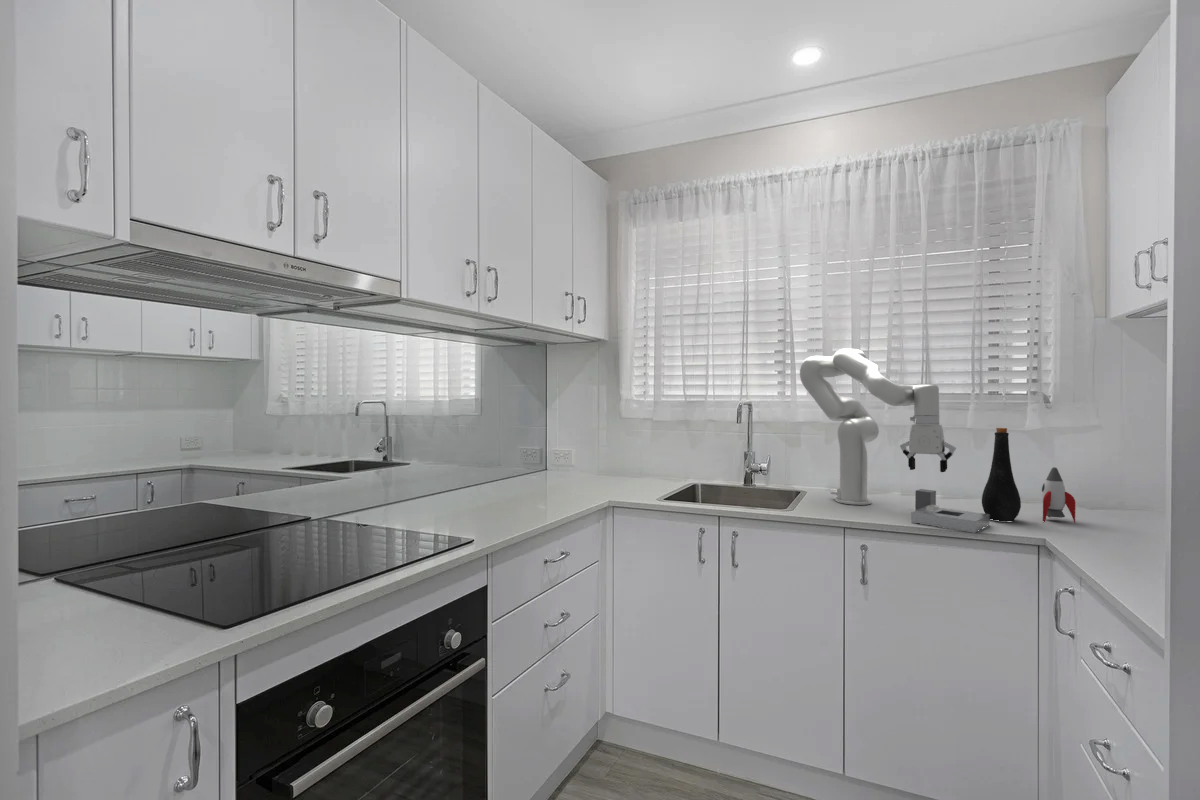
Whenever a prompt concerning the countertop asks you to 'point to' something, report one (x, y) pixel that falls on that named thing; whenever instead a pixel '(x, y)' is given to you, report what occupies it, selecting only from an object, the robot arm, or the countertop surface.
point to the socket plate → (950, 518)
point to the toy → (1056, 496)
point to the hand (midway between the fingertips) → (927, 470)
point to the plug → (924, 498)
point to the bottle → (1001, 483)
